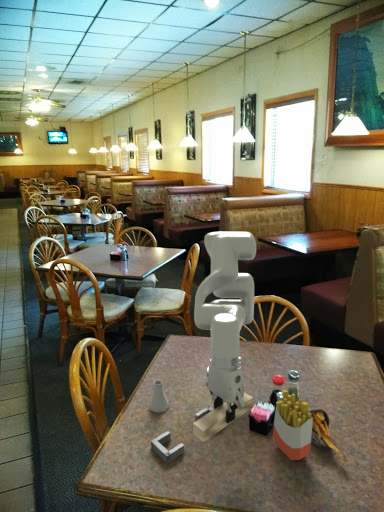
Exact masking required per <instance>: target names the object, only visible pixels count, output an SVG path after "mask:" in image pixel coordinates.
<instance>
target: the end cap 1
mask: <svg viewBox="0 0 384 512" xmlns="http://www.w3.org/2000/svg"><path fill="white" fill-rule="evenodd" d="M169 441H171V432H170V431H169V430H167V431H165V432H163V433H162V434H160V435H159V436H157V437H155V438H154V439H152V440H151V441H150V447H151V449H152V450H153V451H154V452H155V453H156V454H157V455H158V456H159V457H160V458H161V459H162V460H163V461H164V463H166V464H170V462H172V461H173V460H175V459H176V458H178V457H179V456H181V455H182V454H184V453H185V445H184V443H182V442H181V443H179V444H178V445H176V446H175V447H173V448H171V449H170V450H168V449H167V448H166V447H164V444H166V443H167V442H169Z"/></svg>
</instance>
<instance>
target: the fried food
mask: <svg viewBox="0 0 384 512" xmlns="http://www.w3.org/2000/svg"><path fill="white" fill-rule="evenodd" d="M308 412H310V413H311V416H312V417H313V423H312V435H311V441H313V442H314V443H315V444H316V446H318V447H321V446H323V447H325V448H331V449H332V450H334V452H335V453H336V455H338V456H339V457H340V459H341V460H342V461H344V462H346V463H347V462H348V460H349V459H348V457H347V456H346V455H345V454H344V453H343V452H341V450H339V449H338V448H337V447H336V445H335V444H333V443H334V442H333V439H332V434H331V431H330V430H329V428H330V418H329V415H328V413H327V411H325V410H323V409H321V408H318V409H311V410H308Z"/></svg>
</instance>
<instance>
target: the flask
mask: <svg viewBox="0 0 384 512" xmlns="http://www.w3.org/2000/svg"><path fill="white" fill-rule="evenodd" d="M163 384H164V383H163V380H162V379H155V380H154V381H153V385H154V391H153V394H152V397H151V399H150V402H149V411H151V412H154V413H156V414H157V413H165V412H166V411H167V410H168V409H169V408H170V403H169V400H168V398H167V396H166V393H165V391H164V389H163Z"/></svg>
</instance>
